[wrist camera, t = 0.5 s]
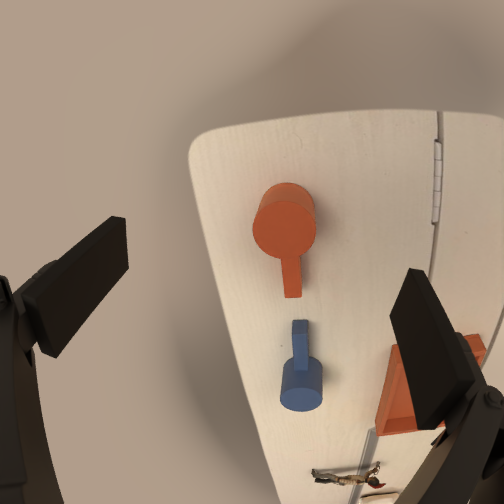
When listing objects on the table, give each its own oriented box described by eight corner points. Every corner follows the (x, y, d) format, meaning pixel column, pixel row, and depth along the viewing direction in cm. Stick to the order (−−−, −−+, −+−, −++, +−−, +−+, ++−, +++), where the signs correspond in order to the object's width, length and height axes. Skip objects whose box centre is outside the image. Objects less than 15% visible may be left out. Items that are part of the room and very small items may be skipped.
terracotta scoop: (318, 283, 32) (319, 314, 28) (270, 285, 33) (264, 316, 29) (312, 180, 27) (314, 198, 23) (257, 184, 28) (248, 203, 24)
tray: (392, 344, 34) (396, 363, 32) (478, 333, 32) (486, 350, 29) (374, 420, 42) (376, 436, 39) (445, 410, 40) (450, 425, 37)
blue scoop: (278, 320, 35) (273, 352, 31) (322, 318, 34) (323, 351, 30) (284, 381, 40) (281, 411, 35) (322, 380, 39) (322, 411, 34)
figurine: (323, 460, 56) (393, 460, 47) (324, 476, 54) (392, 477, 46) (309, 469, 51) (384, 472, 43) (310, 486, 50) (384, 490, 41)
